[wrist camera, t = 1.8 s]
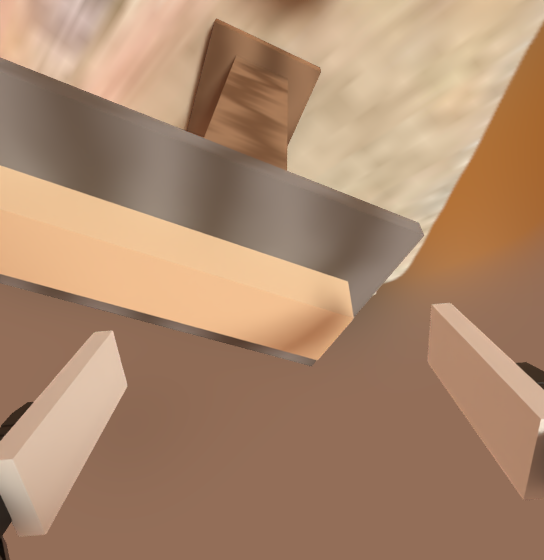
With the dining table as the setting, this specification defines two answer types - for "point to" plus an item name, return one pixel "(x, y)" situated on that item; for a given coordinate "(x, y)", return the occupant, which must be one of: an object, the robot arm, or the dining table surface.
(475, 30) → the dining table surface
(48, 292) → the shelf stand
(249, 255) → the tan rectangular bar
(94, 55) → the dining table surface
